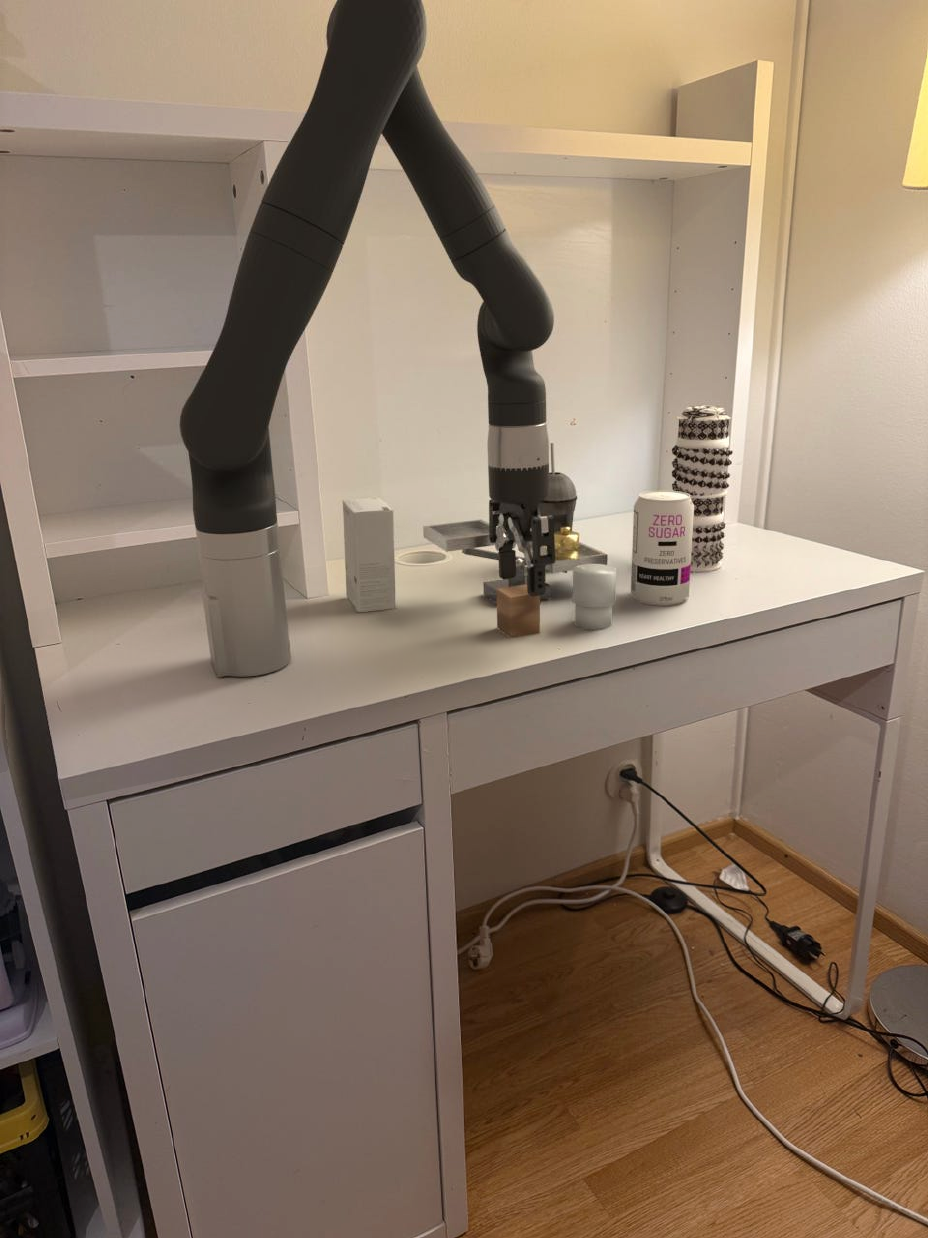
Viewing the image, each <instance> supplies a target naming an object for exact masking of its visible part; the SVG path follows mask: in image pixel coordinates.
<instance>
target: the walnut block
mask: <svg viewBox="0 0 928 1238" xmlns="http://www.w3.org/2000/svg"><path fill="white" fill-rule="evenodd" d="M540 603H541V600H540V595H539V596H530V595H529V594H528V593H527V585H519V586H512V587H505V588H499V589H497V604H496V628H497V629H498V628H499V629H500V630H501V631H500V630H499V629H498V630H499V631H500V632H501V633H503V632H504V633H505V635H506V636H507V635H508V636H507V637H508V638H510V639H513V638H519V636H520V637H526V636H531V635H536V634H537V635H538V634H540V633H541V604H540Z"/></svg>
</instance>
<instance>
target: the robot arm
mask: <svg viewBox="0 0 928 1238" xmlns="http://www.w3.org/2000/svg"><path fill="white" fill-rule="evenodd" d="M427 29H428V28H427V15H426V11H425V6H424V4H423V0H336V2H335V4H334V6H333V8H332V10H331V12H330V14H329V17H328V21H327V25H326V35H325V36H326V48H327V50H326V53H325V57H324V60H323V63H322V66H321V70H320V74H319V77H318V80H317V83H316V86H315V90H314V92H313V95H312V98H311V100H310V103H309V105H308V108H307V110H306V111H305V114H304V116H303V118H302V120H301V122H300V124H299V125H298V127H297V129H296V131H295V132H294V134H293V136H292V137H291V139H290V141H289V143H288V145H287V146H286V148H285V150H284V151H283V153H282V156H281V157H280V160H279V161H278V164H277V165H276V168H275V170H274V172H273V174H272V176H271V177H270V181H269V183H268V184H267V187H266V188H265V191H264V193H263V196H262V198H261V201H260V204H259V206H258V207H257V208H258V209H257V211H256V213H255V216H254V219H253V222H252V224H251V228H250V229H249V233H248V236H247V239H246V242H245V243H244V249H243V251H242V255H241V257H240V261H239V265H238V267H237V272H236V274H235V275H236V276H235V279H234V282H233V287H232V291H231V295H230V300H229V303H228V307H227V311H226V315H225V319H224V323H223V326H222V329H221V332H220V335H219V337H218V338H217V342H216V344H215V346H214V348H213V350H212V352H211V354H210V357H209V359H208V361H207V363H206V365H205V367H204V369H203V371H202V373H201V375H200V376H199V378H198V380H197V383H196V384H195V386H194V388H193V389H192V392H191V393H190V395H189V397H187V399H186V400H185V403H184V405H183V407H182V408H181V412H180V416H179V432H180V435H181V436H180V437H181V440H182V442H183V444H184V446H185V449H186V450H187V452H188V460H189V466H190V475H191V486H192V490H191V491H192V512H193V514H192V515H193V520H194V526H195V534H196V542H197V549H198V557H199V566H200V573H201V579H202V587H201V595H202V602H203V611H204V617H205V625H206V626H205V627H206V632H207V633H206V634H207V639H208V640H207V641H208V648H209V656H210V661H211V665H212V667H213V670H214V672H215V675H216V676H217V678H222V677H243V678H244V677H255V676H256V677H257V676H261V675H263V676H264V675H266V674H270V673H273V672H276V671H279V670H281V669H282V668H284V667H286V666H287V665H288V664H289V663H291V659H292V656H291V655H292V654H291V641H290V635H289V624H288V615H287V614H288V613H287V605H286V603H287V602H286V595H285V585H284V584H285V583H284V575H283V574H284V573H283V563H282V557H281V556H282V555H281V545H280V536H279V525H278V513H277V501H276V490H275V488H276V487H275V479H274V470H273V459H272V458H273V457H272V449H271V447H272V446H271V439H270V438H271V437H270V430H269V429H270V428H269V426H270V423H271V419H272V414H273V411H274V406H275V403H276V399H277V396H278V392H279V390H280V387H281V383H282V380H283V377H284V373H285V370H286V369H287V365H288V363H289V361H290V359H291V356H292V355H293V352H294V349H295V348H296V346H297V344H298V342H299V341H300V339H301V338H302V335H303V333H304V332H305V330H306V328H307V326H308V324H309V323H310V321H311V319H312V317H313V315H314V314H315V311H316V310H317V307H318V305H319V304H320V301H321V299H322V297H323V295H324V293H325V291H326V289H327V286H328V284H329V282H330V280H331V278H332V276H333V273H334V270H335V268H336V266H337V263H338V261H339V258H340V255H341V253H342V252H343V251H342V250H343V248H344V245H345V243H346V240H347V237H348V234H349V231H350V229H351V226H352V223H353V220H354V217H355V215H356V211H357V208H358V205H359V203H360V200H361V197H362V193H363V190H364V187H365V185H366V180H367V177H368V174H369V171H370V167H371V164H372V163H371V162H372V160H373V156H374V154H375V151H376V148H377V145H378V143H379V140H380V137H381V135H382V137H383V138H384V140H385V142H386V143H387V144H388V146H389V147H390V149H391V151H392V153H393V154H394V156H395V158H396V159H397V161H398V162H399V164H400V166H401V168H402V170H403V171H404V173H405V175H406V177H407V179H408V180H409V182H410V184H411V187H412V188H413V190H414V192H415V194H416V195H417V198H418V200H419V201H420V203H421V205H422V208H423V209H424V211H425V213H426V215H427V217H428V219H429V222H430V223H431V225H432V228H433V229H434V231H435V233H436V235H437V237H438V239H439V241H440V242H441V245H442V247H443V248H444V250H445V252H446V255H447V256H448V258H449V260H450V262H451V264H452V266H453V268H454V270H455V272H456V273H457V274H458V275H459V277H460V278H461V279H462V280H463V281H465V282H467V283H469V284H471V285H472V286H473V287H474V288H475V290H476V291H477V293H478V294H479V296H480V297H481V299H482V303H481V306H480V308H479V309H478V310H479V311H478V315H477V322H476V332H477V343H478V349H479V353H480V358H481V363H482V367H483V372H484V376H485V380H486V385H487V408H488V411H487V412H488V414H487V415H488V433H487V465H488V468H487V470H488V473H487V474H488V495H489V496H488V497H489V498H490V499H489V500H488V523H489V539H490V542H491V543H495V545H494V547H495V548H494V549H495V551H497V553H498V560H499V561H498V560H497V561H498V576H499V578H500V579H501V580H502V579H510V578H514V577H515V576H516V556H517V553H516V550H515V548H516V546H517V549H518V551H519V553H522V554H523V558H525V560H526V563H527V566H526V576H527V593H528V594H529V595H530V596H539V595H543V594H544V593H545V591H546V585H545V583H546V571H545V566H546V565H549V564H554V563H555V540H554V519H553V516H552V515H547V516H541V514H540V509H539V503H540V502H541V501H542V500H545V499H546V498H547V497H548V496H549V473H550V441H549V434H548V426H547V389H546V383H545V379H544V378H543V376H542V375H541V374H539V372H537V370H536V368H535V364H534V358H533V357H534V356H533V351H534V350H537V349H539V348H541V347H542V346H543V345H545V344H546V342H547V341H548V340H549V339H550V337H551V335H552V332H553V329H554V324H555V322H554V321H555V318H554V316H555V315H554V310H553V305H552V303H551V300H550V297H549V294H548V292H547V291H546V289H545V287H544V286H543V284H542V283H541V281H540V279H539V278H538V277H537V275H536V274H535V271H533V269H532V268H531V266H530V265H529V264H528V263H527V260H526V259H525V258H524V256H522V254H521V253H520V252H519V250H517V248H516V247H515V245H514V244H513V242H512V240H511V237H510V235H509V233H508V231H507V229H506V228H505V227H506V226H505V224H504V222H503V220H502V218H501V216H500V214H499V212H498V209H497V207H496V205H495V204H494V201H493V199H492V197H491V196H490V194H489V191H488V190H487V188H486V186H485V185H484V183H483V181H482V179H481V178H480V176H479V174H478V172H476V169H474V167H473V166H472V164H471V163H470V161H469V160H468V159H467V157H466V156H465V155H464V153H463V152H462V151H461V149H460V148H459V146H458V145H457V143H455V141H454V140H453V138H452V137H451V135H450V134H449V133H448V131H447V129H446V128H445V126H444V125H443V122H442V121H441V120H440V118H439V116H438V114H437V112H436V110H435V108H434V106H433V104H432V102H431V100H430V97H429V96H428V93H427V91H426V88H425V86H424V83H423V80H422V77H421V75H420V71H419V68H418V64H419V62H420V60H421V58H422V56H423V53H424V49H425V47H426V41H427V32H428V31H427ZM496 527H497V530H496ZM546 545H547V554H546V551H545V548H544V546H546ZM532 550H533V557H532V554H531V551H532Z"/></svg>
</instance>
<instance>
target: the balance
mask: <svg viewBox="0 0 928 1238" xmlns="http://www.w3.org/2000/svg"><path fill="white" fill-rule="evenodd" d="M422 527H423V528H422V529H423V538H424V539H426V540H427V541H429V542H431V543H432V544H434V545H435V546H437V547H438V548H440V549H442V550H443V551H445V552H453V551H461V554H464V555H465V556H466V555H467V556H471V557H477V558H482V559H488V560H494V561H498V562H499V560H498V552H495V551H490V550H485V549H479V548H483V547H485V548H486V547H491V546H495V543H491V542H490V539H489V522H487V521H485V520H483V519H480V518H479V519H474V520H473V519H472V520H465V521H457V522H456V521H455V522H448V523H447V522H446V523H440V524H431V525H423V526H422ZM497 527H498V526H497ZM497 527H496V530H497ZM554 540H555V563H554V564H549V565H546V566H545V569H546V570H547V571H546V572H548V571H549V572H548V573H551V574H557V573H565V574H567V573H568V572H570V571H573V568H574V567H576V566H579V565H584V564H604V565H608V559H609V558H608V557H609V556H608V554H607V553H605V552H603V551H601V550H598V549H596V548H593V547H591V546H589V545H588V544H585V543H582V542H580V533H579V532H577V531H573V530H572V531H570V527H568V526H563V527H561V531H557V532H554ZM544 548H545V551H546V554H547V545H546V546H544ZM531 554H532V557H533V550H532V551H531ZM526 567H528V566H527V563H526V560H525V557H524V556H523V557H522V556H517V555H516V576H515V577H514V578H510V579H502V578H501V579H497V580H495V579H494V580H490V581H484V582H483V596H484V595H485V596H484V597H485V598H487V597H488V598H487V599H489V600H490V599H491V600H490V601H491V602H493V603H495V604H496V605H497V589H499V588H505V587H512V586H519V585H527V575H526ZM545 585H546V591H545V593H544V594H543V595H540V601H543V600H551V597H552V596H551V591H552V590H551V586H552V585H551V584H549V583H547V582H545Z"/></svg>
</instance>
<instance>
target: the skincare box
mask: <svg viewBox="0 0 928 1238" xmlns="http://www.w3.org/2000/svg"><path fill="white" fill-rule="evenodd" d="M342 514H343V515H342V516H343V540H344V543H343V544H344V563H345V586H346V587H345V589H346V593H345V594H346V598H347V599H348V600H349V601H350V602H351V603H352V605H353V607H354V609H355V610H356V612H357V613H368V612H375V611H376V612H377V611H385V610H386V611H387V610H394V609H396V608H397V607H396V606H397V604H396V569H395V568H396V563H395V560H396V559H395V524H394V523H395V522H394V520H395V518H394V510H393V509H392V508H391V507H390V506H389V504H388V502H386V501H383V500H382V499H381V498H380V497H369V498H367V497H366V498H351V499H343V500H342Z"/></svg>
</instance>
